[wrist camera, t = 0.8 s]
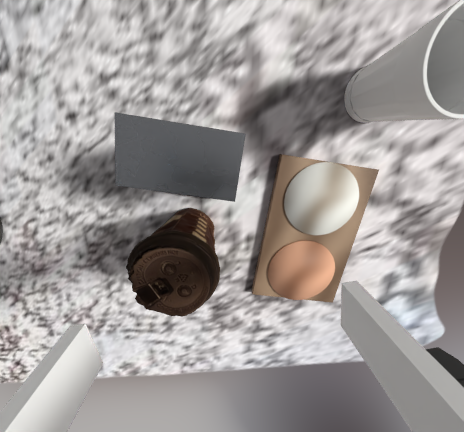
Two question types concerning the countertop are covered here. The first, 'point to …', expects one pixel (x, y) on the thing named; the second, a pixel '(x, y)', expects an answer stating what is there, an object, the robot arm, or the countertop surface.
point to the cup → (414, 76)
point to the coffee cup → (176, 265)
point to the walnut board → (310, 227)
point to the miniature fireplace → (177, 157)
